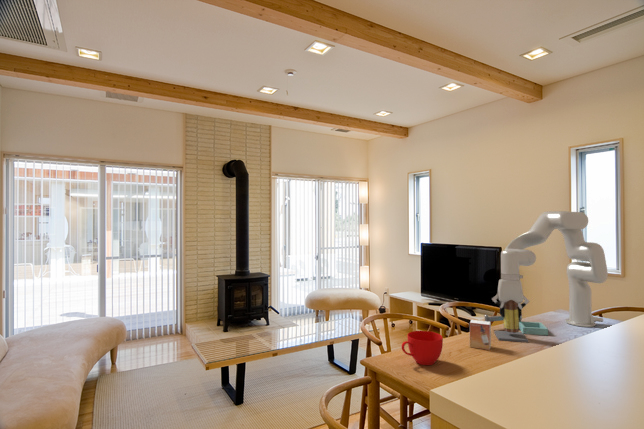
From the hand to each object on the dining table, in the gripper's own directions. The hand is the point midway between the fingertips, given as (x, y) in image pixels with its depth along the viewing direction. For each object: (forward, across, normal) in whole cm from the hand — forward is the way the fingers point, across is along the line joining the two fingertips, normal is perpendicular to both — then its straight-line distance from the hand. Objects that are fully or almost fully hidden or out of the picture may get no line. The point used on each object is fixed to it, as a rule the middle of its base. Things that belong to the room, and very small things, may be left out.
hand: (510, 316), depth 174 cm
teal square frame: (+9, -11, -14) cm, 20 cm away
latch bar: (+5, +1, -15) cm, 16 cm away
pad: (+9, 0, 0) cm, 9 cm away
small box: (+10, +15, +17) cm, 25 cm away
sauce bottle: (+7, 0, 0) cm, 7 cm away
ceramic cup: (+10, +39, +42) cm, 58 cm away
